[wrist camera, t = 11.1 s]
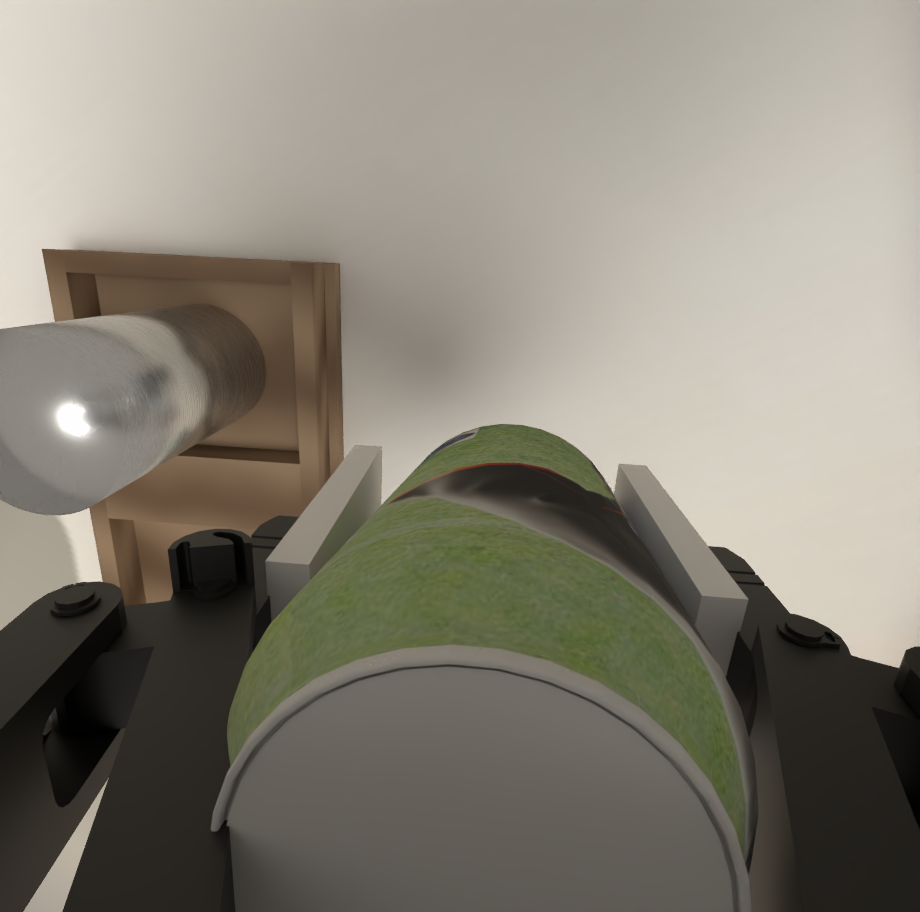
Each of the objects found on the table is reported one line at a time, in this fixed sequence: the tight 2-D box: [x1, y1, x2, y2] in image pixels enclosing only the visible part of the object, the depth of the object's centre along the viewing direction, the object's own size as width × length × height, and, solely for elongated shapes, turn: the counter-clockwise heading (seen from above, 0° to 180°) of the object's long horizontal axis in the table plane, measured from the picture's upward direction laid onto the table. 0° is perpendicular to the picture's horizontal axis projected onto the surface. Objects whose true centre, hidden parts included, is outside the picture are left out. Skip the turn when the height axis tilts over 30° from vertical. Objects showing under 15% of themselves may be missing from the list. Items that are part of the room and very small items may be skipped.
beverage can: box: [211, 424, 758, 912], centre depth 11 cm, size 6×7×12 cm
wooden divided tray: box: [42, 249, 344, 606], centre depth 32 cm, size 24×14×3 cm, turn 177°
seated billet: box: [0, 304, 266, 515], centre depth 24 cm, size 6×6×12 cm
